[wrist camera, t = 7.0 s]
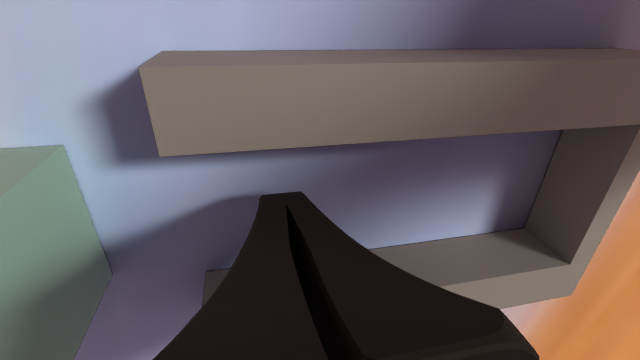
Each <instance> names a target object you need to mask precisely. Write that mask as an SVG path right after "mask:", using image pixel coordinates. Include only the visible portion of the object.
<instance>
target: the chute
mask: <svg viewBox="0 0 640 360" xmlns="http://www.w3.org/2000/svg"><path fill="white" fill-rule="evenodd" d="M138 68H139V72H140V76H141V81H142V85H143V89H144V93H145V98H146V102H147V106H148V110H149V115H150V119H151V123H152V127H153V132H154V136H155V140H156V144H157V149H158V153H159V157H164V156H179V155H194V154H209V153H223V152H238V151H253V150H268V149H283V148H298V147H312V146H327V145H342V144H357V143H372V142H386V141H401V140H416V139H431V138H446V137H460V136H475V135H490V134H505V133H520V132H535V131H549V130H563V132H562V134H561V137H560V139H559V142H558V144H557V147H556V149H555V152H554V154H553V157H552V159H551V162H550V164H549V167H548V169H547V172H546V175H545V177H544V180H543V182H542V185H541V187H540V190H539V192H538V195H537V197H536V200H535V202H534V205H533V207H532V210H531V212H530V215H529V218H528V220H527V223H526V225H525V228H522V229H515V230H508V231H501V232H493V233H486V234H479V235H472V236H464V237H457V238H450V239H443V240H435V241H428V242H421V243H414V244H406V245H399V246H392V247H385V248H377V249H370V250H369V251H371V252H373V253H374V254H376V255H377V256H379V257H380V258H382V259H384V260H386V261H387V262H389V263H391V264H393V265H395V266H396V267H398V268H400V269H402V270H404V271H406V272H408V273H410V274H412V275H414V276H416V277H418V278H420V279H422V280H425V281H427V282H429V283H432V284H434V285H436V286H439V287H441V288H443V289H446V290H448V291H451V292H453V293H456V294H459V295H461V296H464V297H467V298H470V299H473V300H476V301H479V302H481V303H484V304H487V305H490V306H493V307H496V308H499V309H503V308H508V307H513V306H518V305H523V304H529V303H534V302H539V301H544V300H549V299H554V298H560V297H565V296H570V295H572V293H573V291H574V289H575V288H576V286H577V284H578V282H579V280H580V278H581V277H582V275H583V273H584V271H585V269H586V267H587V266H588V264H589V262H590V260H591V258H592V256H593V255H594V253H595V251H596V249H597V247H598V245H599V244H600V242H601V240H602V238H603V236H604V234H605V233H606V231H607V229H608V227H609V225H610V224H611V222H612V220H613V218H614V216H615V214H616V213H617V211H618V209H619V207H620V205H621V203H622V202H623V200H624V198H625V196H626V194H627V192H628V191H629V189H630V187H631V185H632V183H633V181H634V180H635V178H636V176H637V174H638V172H639V170H640V51H636V50H628V49H620V48H571V49H416V50H260V51H162V52H160V53H159V54H157V55H156V56H154V57H153V58H151V59H150V60H148V61H147V62H145V63H144V64H142V65H141V66H139V67H138ZM229 270H230V269H225V270H218V271H211V272H206V275H205V284H204V293H203V302H202V307H203V306H204V304H205V303H206V302H207V301H208V299H209V298H210V297H211V296H212V294H213V293H214V291H215V290H216V289H217V287H218V286H219V285H220V283H221V282H222V280H223V279H224V278H225V276H226V275H227V273H228V271H229Z"/></svg>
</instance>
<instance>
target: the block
mask: <svg viewBox="0 0 640 360" xmlns="http://www.w3.org/2000/svg"><path fill="white" fill-rule="evenodd" d="M112 275H113V274H112V272H111V269H110V266H109V264H108V261H107V258H106V256H105V253H104V251H103V248H102V245H101V243H100V240H99V237H98V235H97V232H96V230H95V227H94V224H93V222H92V219H91V217H90V214H89V211H88V209H87V206H86V203H85V201H84V198H83V196H82V193H81V190H80V188H79V185H78V183H77V180H76V177H75V175H74V172H73V169H72V167H71V164H70V162H69V159H68V156H67V154H66V151H65V149H64V146H63V145H56V146H38V147H21V148H3V149H0V360H74V358H75V356H76V354H77V352H78V350H79V347H80V345H81V343H82V341H83V338H84V336H85V334H86V332H87V330H88V327H89V325H90V323H91V321H92V319H93V316H94V314H95V312H96V310H97V308H98V305H99V303H100V301H101V299H102V297H103V294H104V292H105V290H106V288H107V286H108V283H109V281H110V279H111V277H112Z"/></svg>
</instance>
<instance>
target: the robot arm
mask: <svg viewBox="0 0 640 360" xmlns="http://www.w3.org/2000/svg"><path fill="white" fill-rule="evenodd" d="M153 360H539V356H538V354H537V353H536V351H535V349H534V348H533V347H532V346H531V345H530V343H529V342H528V341H527V340H526V339H525V337H524V336H523V335H522V334H521V333H520V332H519V330H518V329H517V328H516V327H515V326H514V325H513V323H512V322H511V321H510V320H509V319H508V318H507V317H506V316H505V314H504V313H503V312H502V311H501V310H500V309H499V308H496V307H493V306H490V305H487V304H484V303H481V302H479V301H476V300H473V299H470V298H467V297H464V296H461V295H459V294H456V293H453V292H451V291H448V290H446V289H443V288H441V287H439V286H436V285H434V284H432V283H429V282H427V281H425V280H422V279H420V278H418V277H416V276H414V275H412V274H410V273H408V272H406V271H404V270H402V269H400V268H398V267H396V266H395V265H393V264H391V263H389V262H387V261H386V260H384V259H382V258H380V257H379V256H377V255H376V254H374V253H373V252H371V251H369V250H368V249H366V248H365V247H363V246H362V245H360V244H359V243H357V242H356V241H355V240H353V239H352V238H351V237H349V236H348V235H347V234H346V233H344V232H343V231H342V230H341V229H340V228H338V227H337V226H336V225H335V224H334V223H333V222H332V221H331V220H329V219H328V218H327V217H326V216H325V215H324V214H323V213H322V212H321V211H320V210H319V209H318V208H317V207H316V206H315V205H314V204H313V203H312V202H311V201H310V200H309V199H308V198H307V197H306V196H305V195H304V194H303V193H302V192H301V191H300V192H290V193H279V194H268V195H262V196H261V197H260V198H259V207H258V211H257V214H256V217H255V220H254V223H253V225H252V228H251V230H250V233H249V235H248V237H247V239H246V241H245V243H244V245H243V247H242V249H241V251H240V253H239V255H238V257H237V258H236V260H235V262H234V263H233V265H232V267H231V268H230V270H229V271H228V273H227V275H226V276H225V278H224V279H223V280H222V282H221V283H220V285H219V286H218V287H217V289H216V290H215V291H214V293H213V294H212V296H211V297H210V298H209V299H208V301H207V302H206V303H205V304H204V306H203V307H202V308H201V309H200V310H199V311H198V313H197V314H196V315H195V316H194V317H193V318H192V319H191V320H190V322H189V323H188V324H187V325H186V326H185V327H184V328H183V329H182V331H181V332H180V333H179V334H178V335H177V336H176V337H175V338H174V339H173V340H172V341H171V342H170V343H169V344H168V345H167V346H166V347H165V348H164V349H163V350H162V351H161V352H160V353H159V354H158V355H157V356H156V357H155V358H154V359H153Z"/></svg>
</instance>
